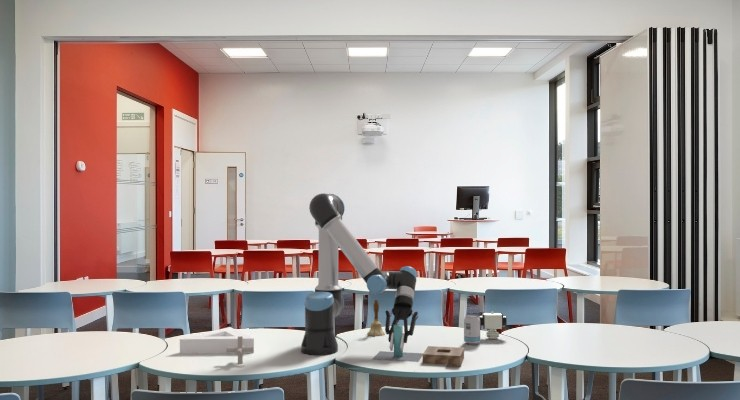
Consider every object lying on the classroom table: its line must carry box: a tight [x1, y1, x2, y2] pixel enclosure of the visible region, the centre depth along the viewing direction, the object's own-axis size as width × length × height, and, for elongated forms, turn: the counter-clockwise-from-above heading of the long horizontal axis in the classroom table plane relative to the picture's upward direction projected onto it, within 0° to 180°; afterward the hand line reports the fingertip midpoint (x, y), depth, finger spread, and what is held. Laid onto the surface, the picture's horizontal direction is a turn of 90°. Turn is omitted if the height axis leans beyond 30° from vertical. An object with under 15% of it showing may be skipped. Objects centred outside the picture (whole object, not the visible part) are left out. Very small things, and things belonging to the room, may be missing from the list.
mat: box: [371, 350, 424, 363], centre depth 248 cm, size 18×14×1 cm
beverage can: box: [463, 314, 481, 346], centre depth 273 cm, size 7×7×12 cm
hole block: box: [422, 345, 465, 368], centre depth 241 cm, size 14×14×4 cm
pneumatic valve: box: [478, 311, 508, 340], centre depth 283 cm, size 6×12×12 cm, turn 87°
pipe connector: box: [227, 336, 255, 365], centre depth 241 cm, size 10×10×10 cm
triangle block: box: [179, 326, 255, 354], centre depth 271 cm, size 30×26×6 cm
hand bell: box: [366, 299, 386, 337], centre depth 294 cm, size 8×8×16 cm
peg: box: [393, 324, 404, 357], centre depth 248 cm, size 4×4×12 cm
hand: (396, 349), depth 244 cm, fingers closed on peg, 3 cm apart
